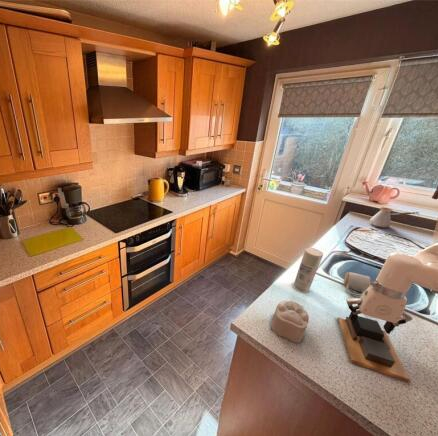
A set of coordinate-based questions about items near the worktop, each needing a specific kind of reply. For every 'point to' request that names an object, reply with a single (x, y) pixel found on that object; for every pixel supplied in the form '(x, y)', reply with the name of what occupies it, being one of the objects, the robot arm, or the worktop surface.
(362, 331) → the dark grey square block
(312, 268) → the spray can
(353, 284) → the ceramic mug
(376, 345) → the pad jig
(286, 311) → the lumpy-topped squat cylinder
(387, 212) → the coffee pot
